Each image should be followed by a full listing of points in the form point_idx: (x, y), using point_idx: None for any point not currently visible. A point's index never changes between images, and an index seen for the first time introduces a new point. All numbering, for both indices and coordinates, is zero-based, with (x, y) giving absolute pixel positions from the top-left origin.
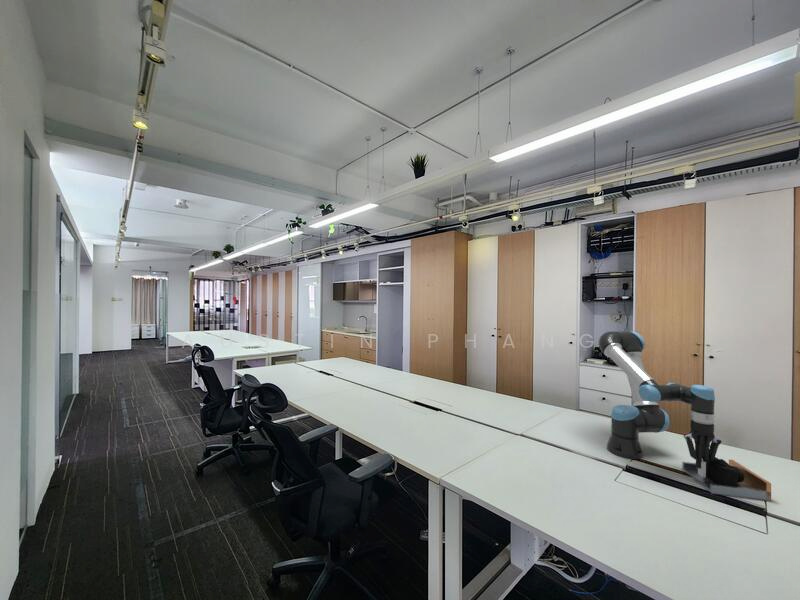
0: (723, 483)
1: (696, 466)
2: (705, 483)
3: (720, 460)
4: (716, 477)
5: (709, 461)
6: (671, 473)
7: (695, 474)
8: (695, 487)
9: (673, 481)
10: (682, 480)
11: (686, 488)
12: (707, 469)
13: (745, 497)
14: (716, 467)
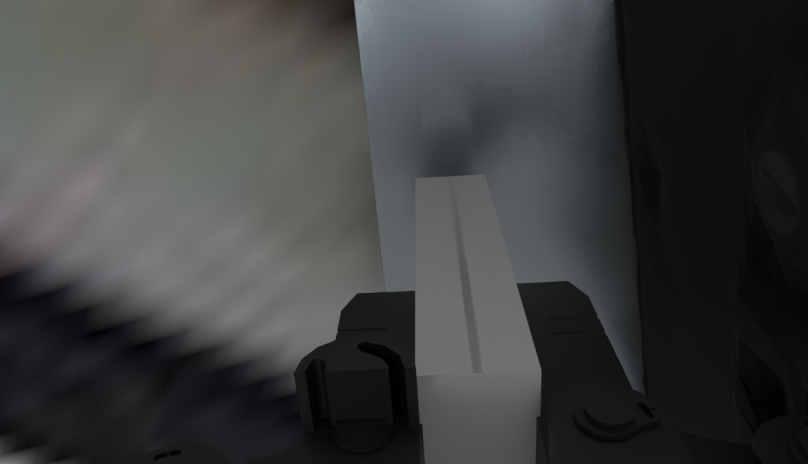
0: None
1: (352, 317)
2: None
3: None
4: (669, 316)
5: (806, 297)
6: (35, 19)
7: (445, 11)
8: (265, 387)
9: (11, 313)
10: (153, 238)
11: (135, 445)
12: (675, 125)
13: None
14: None
